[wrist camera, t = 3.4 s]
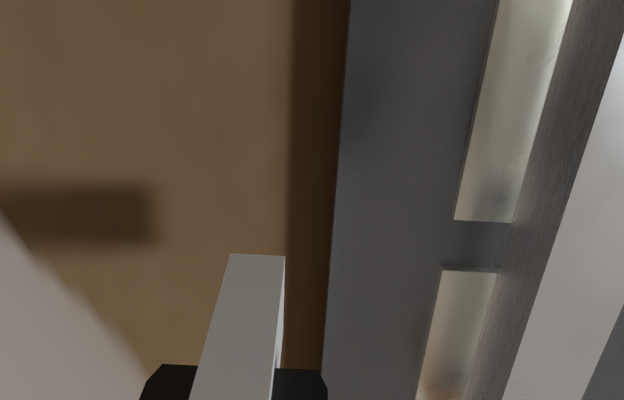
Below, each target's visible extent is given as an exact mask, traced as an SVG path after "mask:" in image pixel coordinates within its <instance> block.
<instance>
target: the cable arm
mask: <svg viewBox="0 0 624 400" xmlns="http://www.w3.org/2000/svg"><path fill="white" fill-rule="evenodd" d="M623 305H624V0H573V1H572V5H571V9H570V12H569V16H568V19H567V23H566V27H565V30H564V34H563V37H562V41H561V45H560V48H559V52H558V55H557V59H556V63H555V66H554V70H553V73H552V77H551V81H550V84H549V88H548V91H547V95H546V99H545V102H544V106H543V109H542V113H541V117H540V120H539V124H538V127H537V131H536V135H535V138H534V142H533V145H532V149H531V153H530V156H529V160H528V164H527V167H526V171H525V174H524V178H523V182H522V185H521V189H520V192H519V196H518V200H517V203H516V207H515V210H514V214H513V218H512V221H511V225H510V228H509V232H508V236H507V239H506V243H505V246H504V250H503V254H502V257H501V261H500V264H499V268H498V272H497V275H496V279H495V282H494V286H493V290H492V293H491V297H490V300H489V304H488V308H487V311H486V315H485V318H484V322H483V326H482V329H481V333H480V336H479V340H478V344H477V347H476V351H475V354H474V358H473V362H472V365H471V369H470V372H469V376H468V380H467V383H466V387H465V390H464V394H463V398H462V400H581V399H582V397H583V395H584V392H585V390H586V388H587V386H588V383H589V381H590V379H591V377H592V374H593V372H594V370H595V368H596V365H597V363H598V361H599V359H600V356H601V354H602V352H603V350H604V347H605V345H606V343H607V341H608V338H609V336H610V334H611V332H612V329H613V327H614V325H615V323H616V320H617V318H618V316H619V314H620V311H621V309H622V307H623Z"/></svg>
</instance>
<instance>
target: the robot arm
mask: <svg viewBox="0 0 624 400" xmlns="http://www.w3.org/2000/svg"><path fill="white" fill-rule="evenodd" d="M284 282H285V256H274V255H254V254H234V253H231V254H230V257H229V261H228V264H227V268H226V271H225V275H224V278H223V281H222V285H221V288H220V292H219V295H218V299H217V302H216V306H215V309H214V313H213V316H212V320H211V323H210V327H209V330H208V334H207V337H206V341H205V344H204V348H203V351H202V355H201V358H200V362H199V365H198V366H192V365H171V364H162V365H161V366H160V367H159V368H158V369H157V371H156V372H155V373H154V374H153V375H152V376H151V377H150V378H149V379H148V380H147V381H146V383H145V386H144V388H143V391H142V394H141V396H140V399H139V400H328V389H327V387H326V385H325V383H324V381H323V379H322V377H321V375H320V373H319V371H318V370H303V369H282V368H280V359H281V348H282V338H283V319H284Z"/></svg>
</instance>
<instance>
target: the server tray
mask: <svg viewBox="0 0 624 400" xmlns="http://www.w3.org/2000/svg"><path fill="white" fill-rule="evenodd" d="M572 1H573V0H348V13H347V26H346V39H345V52H344V65H343V78H342V91H341V104H340V117H339V130H338V143H337V155H336V168H335V181H334V194H333V207H332V220H331V233H330V246H329V259H328V272H327V285H326V298H325V311H324V324H323V337H322V350H321V363H320V375H321V377H322V379H323V381H324V383H325V385H326V387H327V389H328V400H462V398H463V394H464V390H465V387H466V383H467V380H468V376H469V372H470V369H471V365H472V362H473V358H474V354H475V351H476V347H477V344H478V340H479V336H480V333H481V329H482V326H483V322H484V318H485V315H486V311H487V308H488V304H489V300H490V297H491V293H492V290H493V286H494V282H495V279H496V275H497V272H498V268H499V264H500V261H501V257H502V254H503V250H504V246H505V243H506V239H507V236H508V232H509V228H510V225H511V221H512V218H513V214H514V210H515V207H516V203H517V200H518V196H519V192H520V189H521V185H522V182H523V178H524V174H525V171H526V167H527V164H528V160H529V156H530V153H531V149H532V145H533V142H534V138H535V135H536V131H537V127H538V124H539V120H540V117H541V113H542V109H543V106H544V102H545V99H546V95H547V91H548V88H549V84H550V81H551V77H552V73H553V70H554V66H555V63H556V59H557V55H558V52H559V48H560V45H561V41H562V37H563V34H564V30H565V27H566V23H567V19H568V16H569V12H570V9H571V5H572ZM581 400H624V305H623V307H622V309H621V311H620V314H619V316H618V318H617V320H616V323H615V325H614V327H613V329H612V332H611V334H610V336H609V338H608V341H607V343H606V345H605V347H604V350H603V352H602V354H601V356H600V359H599V361H598V363H597V365H596V368H595V370H594V372H593V374H592V377H591V379H590V381H589V383H588V386H587V388H586V390H585V392H584V395H583V397H582V399H581Z"/></svg>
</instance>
